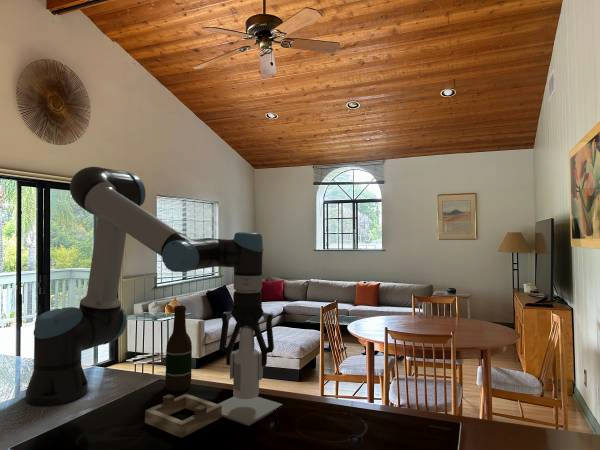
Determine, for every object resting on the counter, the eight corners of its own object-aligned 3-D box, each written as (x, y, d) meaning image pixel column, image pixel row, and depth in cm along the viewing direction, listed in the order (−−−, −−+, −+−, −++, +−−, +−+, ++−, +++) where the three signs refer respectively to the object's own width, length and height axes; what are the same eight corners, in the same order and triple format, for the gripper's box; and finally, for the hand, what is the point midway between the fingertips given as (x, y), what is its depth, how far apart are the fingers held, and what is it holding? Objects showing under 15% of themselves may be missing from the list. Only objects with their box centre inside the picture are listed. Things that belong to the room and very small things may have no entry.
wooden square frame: (144, 422, 107) (144, 404, 107) (185, 404, 118) (185, 387, 118) (182, 438, 99) (182, 418, 99) (222, 417, 110) (222, 399, 110)
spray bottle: (245, 387, 120) (246, 322, 120) (264, 393, 116) (265, 326, 116) (227, 395, 115) (228, 327, 115) (246, 402, 111) (247, 331, 111)
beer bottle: (184, 393, 126) (186, 309, 125) (159, 390, 127) (161, 307, 127) (196, 383, 133) (197, 304, 133) (172, 381, 135) (174, 303, 135)
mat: (207, 411, 114) (207, 408, 114) (242, 394, 126) (242, 392, 126) (248, 425, 106) (248, 423, 106) (282, 406, 118) (282, 404, 118)
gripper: (207, 292, 113) (205, 381, 113) (283, 294, 111) (282, 384, 111) (214, 287, 120) (213, 371, 120) (286, 289, 119) (284, 374, 119)
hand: (246, 377), depth 116 cm, fingers closed on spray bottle, 7 cm apart
